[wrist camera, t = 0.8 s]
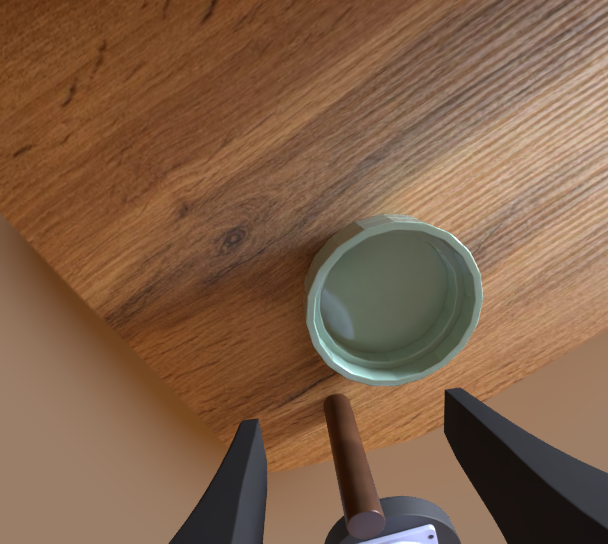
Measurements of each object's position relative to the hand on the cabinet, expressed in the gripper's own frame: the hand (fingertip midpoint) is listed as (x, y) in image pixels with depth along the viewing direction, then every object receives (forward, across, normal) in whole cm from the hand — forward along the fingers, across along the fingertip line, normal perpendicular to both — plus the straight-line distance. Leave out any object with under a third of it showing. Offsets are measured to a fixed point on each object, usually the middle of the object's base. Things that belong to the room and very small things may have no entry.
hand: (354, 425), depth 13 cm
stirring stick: (+11, 0, +8) cm, 14 cm away
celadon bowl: (+11, -4, 0) cm, 12 cm away
